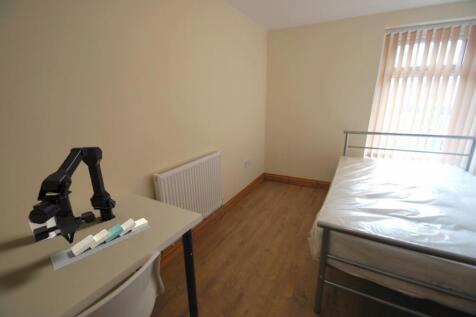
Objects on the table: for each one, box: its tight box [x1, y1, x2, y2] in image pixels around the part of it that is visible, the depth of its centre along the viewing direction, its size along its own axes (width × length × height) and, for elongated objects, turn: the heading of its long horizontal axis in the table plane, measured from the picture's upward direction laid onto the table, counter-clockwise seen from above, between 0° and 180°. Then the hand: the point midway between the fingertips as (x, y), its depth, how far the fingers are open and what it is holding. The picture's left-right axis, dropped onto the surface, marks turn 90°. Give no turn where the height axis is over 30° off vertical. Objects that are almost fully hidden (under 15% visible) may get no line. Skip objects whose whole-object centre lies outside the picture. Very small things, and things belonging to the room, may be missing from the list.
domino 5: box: [130, 217, 149, 232], centre depth 104 cm, size 2×5×8 cm
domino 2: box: [90, 228, 111, 249], centre depth 92 cm, size 2×5×8 cm
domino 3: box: [105, 223, 124, 243], centre depth 96 cm, size 2×5×8 cm
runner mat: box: [49, 224, 152, 271], centre depth 94 cm, size 11×37×1 cm, turn 137°
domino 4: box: [119, 218, 137, 236], centre depth 100 cm, size 2×5×8 cm
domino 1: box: [70, 233, 96, 256], centre depth 88 cm, size 2×5×8 cm
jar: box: [27, 215, 56, 243], centre depth 96 cm, size 9×8×12 cm
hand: (71, 243), depth 85 cm, fingers closed
